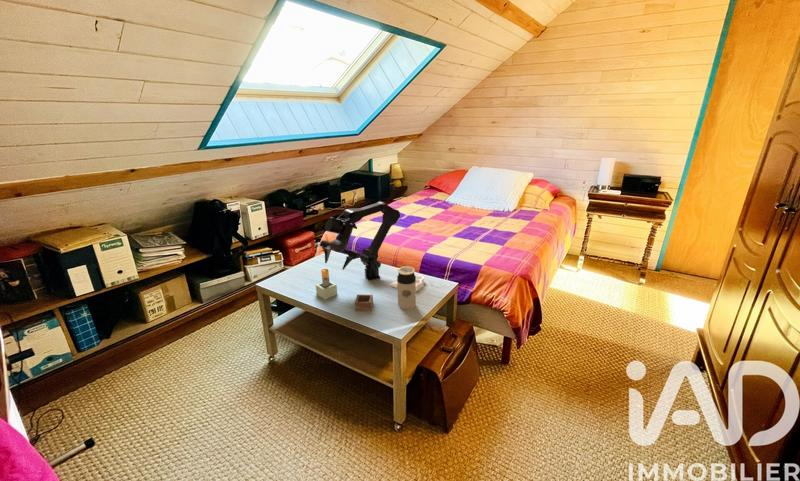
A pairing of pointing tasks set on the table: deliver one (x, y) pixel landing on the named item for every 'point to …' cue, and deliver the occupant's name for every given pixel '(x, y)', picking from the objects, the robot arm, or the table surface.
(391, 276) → the table surface
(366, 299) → the brown square open box
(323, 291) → the cream square hollow block
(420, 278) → the knuckle duster
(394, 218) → the robot arm
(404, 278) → the travel mug
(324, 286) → the gold and grey cylinder
